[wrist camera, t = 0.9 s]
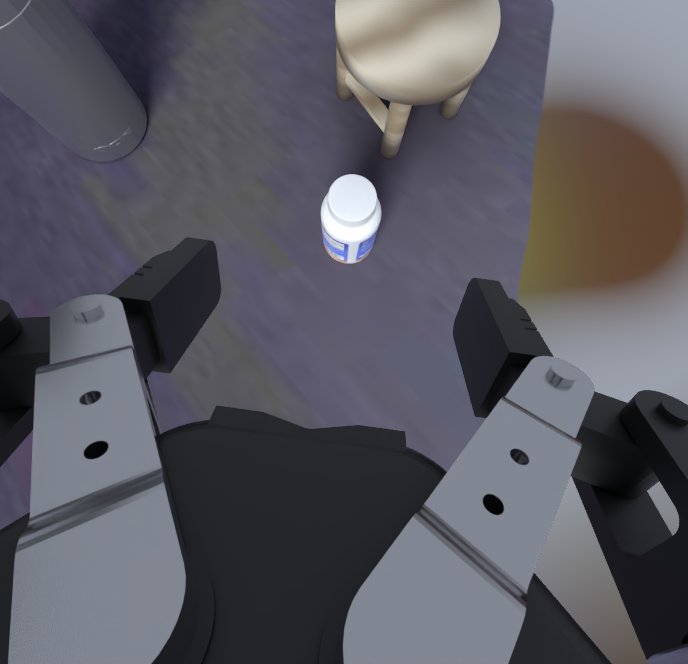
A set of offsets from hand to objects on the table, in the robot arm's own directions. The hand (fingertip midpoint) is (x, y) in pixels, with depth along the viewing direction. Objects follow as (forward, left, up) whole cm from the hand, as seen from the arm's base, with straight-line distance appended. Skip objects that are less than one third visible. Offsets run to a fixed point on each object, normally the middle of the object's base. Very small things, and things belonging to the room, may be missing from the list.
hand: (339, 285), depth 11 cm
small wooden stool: (-18, +21, -25) cm, 38 cm away
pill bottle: (-8, +7, -25) cm, 28 cm away
